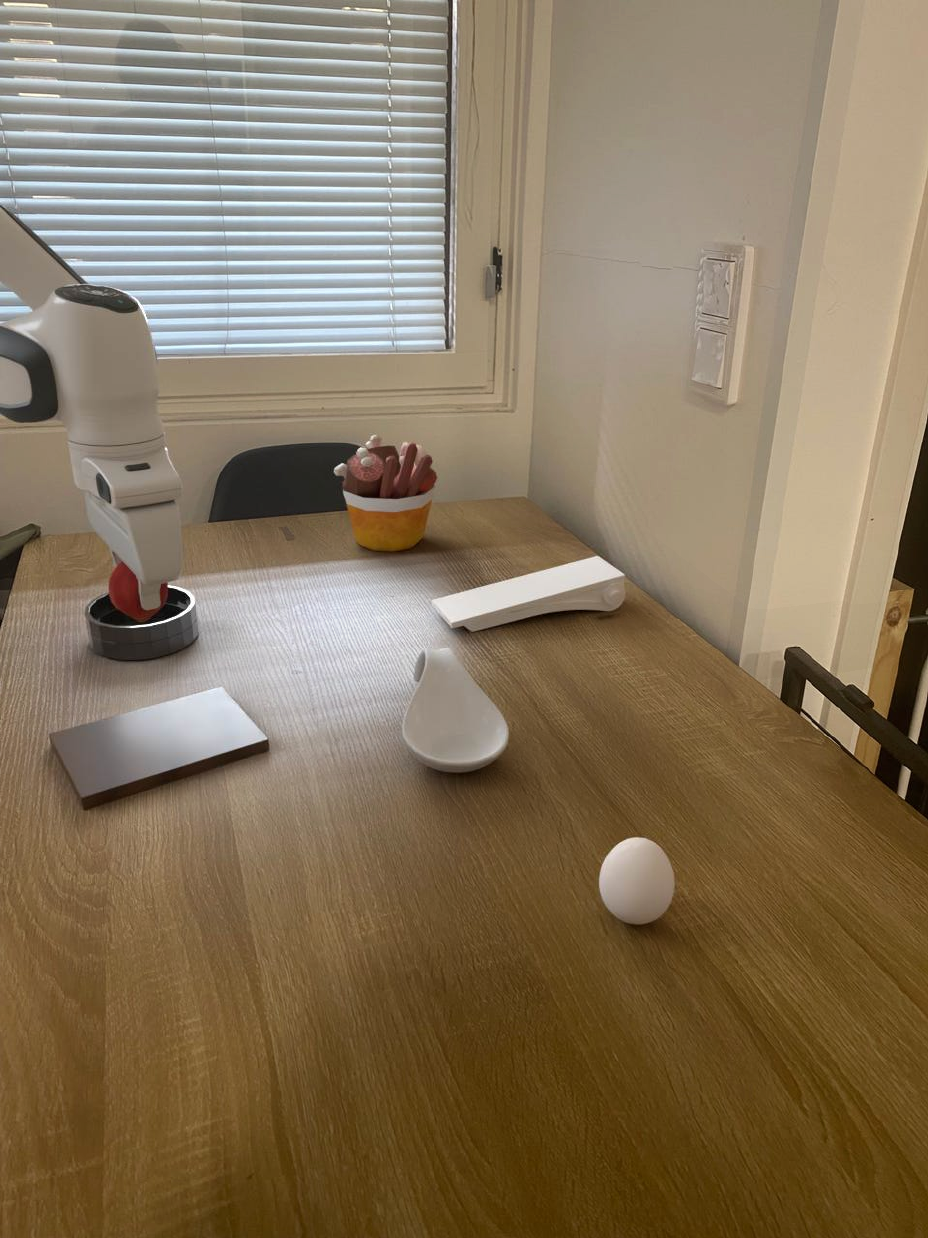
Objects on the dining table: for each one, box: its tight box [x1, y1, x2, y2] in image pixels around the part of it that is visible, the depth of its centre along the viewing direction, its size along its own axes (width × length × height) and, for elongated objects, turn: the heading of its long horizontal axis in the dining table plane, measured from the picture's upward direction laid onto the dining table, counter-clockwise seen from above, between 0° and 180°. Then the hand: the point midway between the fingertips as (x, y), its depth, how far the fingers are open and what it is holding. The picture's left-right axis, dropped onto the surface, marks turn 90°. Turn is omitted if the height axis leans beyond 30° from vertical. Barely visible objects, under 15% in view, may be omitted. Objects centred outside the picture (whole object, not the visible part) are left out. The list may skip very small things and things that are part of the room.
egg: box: [598, 836, 676, 926], centre depth 78 cm, size 6×6×8 cm
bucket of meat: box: [333, 434, 438, 552], centre depth 158 cm, size 20×16×20 cm
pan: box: [84, 584, 199, 661], centre depth 125 cm, size 14×14×5 cm
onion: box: [108, 561, 169, 622], centre depth 94 cm, size 6×6×8 cm
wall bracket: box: [431, 555, 627, 633], centre depth 137 cm, size 10×7×28 cm
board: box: [48, 686, 270, 811], centre depth 101 cm, size 20×14×2 cm
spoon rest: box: [401, 647, 510, 774], centre depth 105 cm, size 24×12×7 cm, turn 11°
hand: (139, 594), depth 94 cm, fingers closed on onion, 6 cm apart
